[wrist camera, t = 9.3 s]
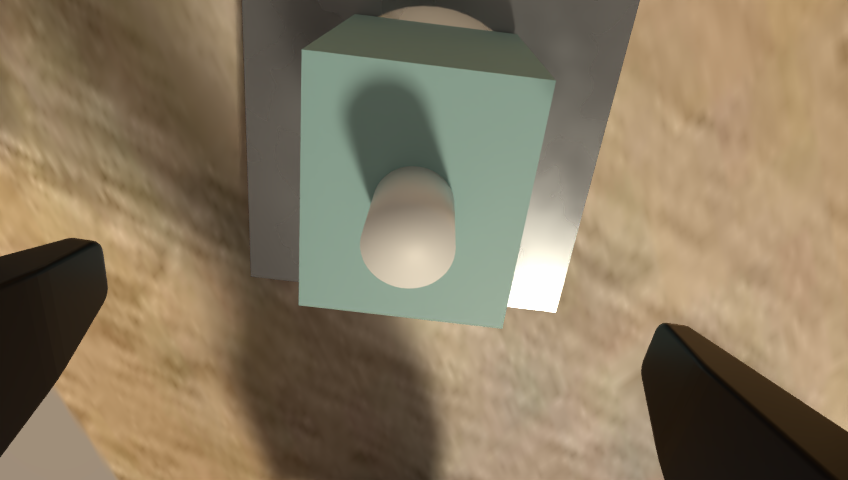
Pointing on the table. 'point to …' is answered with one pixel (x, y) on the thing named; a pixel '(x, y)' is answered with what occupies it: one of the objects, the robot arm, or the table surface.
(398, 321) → the table surface
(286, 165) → the press bed
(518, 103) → the block
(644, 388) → the robot arm
